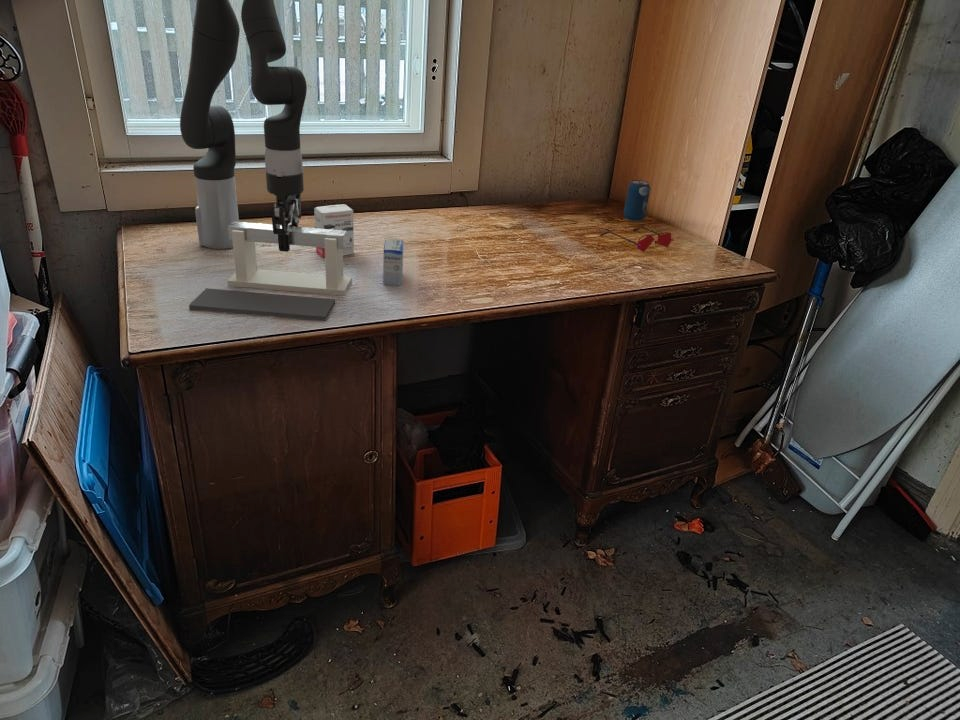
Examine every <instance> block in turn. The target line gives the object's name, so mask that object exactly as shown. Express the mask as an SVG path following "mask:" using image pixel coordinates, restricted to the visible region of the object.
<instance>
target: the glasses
mask: <svg viewBox="0 0 960 720" xmlns="http://www.w3.org/2000/svg"><path fill="white" fill-rule="evenodd" d="M639 229H643V230H646V231H648V232H650V233H653V234H645V235H642V236H641V237H640V238H638V241H637V242H636V241H633V240H630V239H628V238H626V237H624V236H621V235H619V234H617V233H614V232H613V231H605V232H603V233H601V234H599V236H600V237H602V236H604V235H606V234H612V235H614V236H617V237H619V238H621V239H623V240H625V241H628V242H630V243H633V244H634V245H637V246H636V247H637V248H636V249H638V250H640V251H641V252H645V251H646V250H647V249H648V247H650V246H652V243H653V242H654V243H655V245H660V246H663V247H664V248H665V247H666V248H668V247H669V246H670V244H671V242H674V238H672V232H668V231H667V232H666V231H665V232H660V233H659V232H655V231H653V230H651V229H648V228H646V227H644V226H639V227H636V228H634V229H632V231H633V232H635V231H637V230H639ZM656 235H657V239H656V240H655V238H654V237H653V236H656Z"/></svg>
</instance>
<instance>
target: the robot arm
mask: <svg viewBox="0 0 960 720" xmlns="http://www.w3.org/2000/svg"><path fill="white" fill-rule="evenodd" d="M195 3H196V4H195V10H194V18H193V24H192V25H193V26H192V34H191V47H190V48H191V49H190V60H189V69H188V77H187V81H186V87H185V92H184V97H183V101H182V106H181V112H180V116H179V117H180V119H179V127H180V128H179V129H180V134H181V137H182V140H183V142H184V143H185V145H186V146H187V147H188V148H191V149H193V150H205V149H208V150H207V152H206V153H205V154H204V156H203V157H201V158H200V159H199V160H197V161H196V162H195V163H194V164H193V176H194V183H195V190H196V191H195V192H196V200H197V206H195V208H194V211H195V219H196V221H195V222H196V227H197V236H198V244H199V246H203V247H206V248H209V249H215V250H225V249H233V241H232V240H229V232H228V226H229V225H230V224H231V223H232V222H234V221H236V222H240V218H239V210H238V209H239V208H238V198H237V188H236V177H235V167H236V163H237V159H236V158H237V157H236V156H237V155H236V154H237V153H236V135H235V133H236V132H235V125H234V121H233V119H232V118H233V117H232V116H231V114H230V111H228V109H226V107H224V106H222V105H219V104H218V105H215V104H214V105H211V103H212V100H213V96H214V94H215V93H216V90H217V89H218V88H219V86H220V85H221V83H222V82H223V80H224V79H225V78H226V77H227V75H228V74H229V73H230V70H231V69H232V68H233V66H234V64H235V62H236V59H237V53H238V46H239V41H240V40H239V39H240V33H241V32H240V25H239V20H238V18H237V15H236V14H235V11H234V8H233V6H232V3H230V0H196V1H195ZM241 4H242V5H241V10H240V11H241V12H240V13H241V15H240V17H241V24H242V28H243V31H244V35H245V38H246V41H247V44H248V48H249V54H250V55H249V57H250V66H251V68H250V70H251V72H250V74H251V76H250V77H251V78H250V89H251V92H252V95H253V97H254V98H255V99H256V101H258V102H259V103H260V104H261V105H264V106H276V105H278V106H279V105H283V106H284V107H283V109H282V111H281V112H280V113H278V114H275V115H272V116H269V117H267V118H266V119H264V122H263V133H264V135H263V136H264V146H265V149H264V151H265V152H264V164H265V168H264V169H265V178H266V189H267V192H268V193H269V194H272V195H274V196H275V197H276V198H275V202H274V205H273V206H271V207H270V215H271V222H272V223H271V224H272V225H273V233H274V234H278V250H279V251H280V252H286V253H288V252H289V251H290V250H291V249H290V248H291V245H290V243H289V226H295V227H299V224H300V219H302V205H301V204H302V201H301V200H302V199H301V196H302V194H303V192H304V190H305V188H304V185H305V184H304V173H303V172H304V169H303V155H302V151H301V150H302V149H301V134H300V132H301V131H300V129H301V121H302V117H303V116H302V115H303V110H304V106H305V102H306V97H307V92H308V91H307V90H308V89H307V88H308V86H307V81H306V77H305V75H304V73H303V72H302V70H301V69H299V68H298V67H296V66H269V64H268V63H272V62H275V61H278V60H280V59H282V58H283V57H284V56H285V55H286V52H287V46H286V41H285V38H284V34H283V31H282V28H281V23H280V21H279V17H278V14H277V10H276V6H275V1H274V0H243V2H242V3H241ZM280 225H282V229H280Z"/></svg>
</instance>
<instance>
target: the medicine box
mask: <svg viewBox="0 0 960 720" xmlns="http://www.w3.org/2000/svg"><path fill="white" fill-rule="evenodd" d="M382 255H383V256H382V257H383V258H382V260H383V262H382V264H383V265H382V266H383V267H382V270H383V271H382V272H383V273H382V284H383V285H384V286H387V285H388V286H402V285H403V284H402V283H403V265H404V240H403V239H396V238H385V239H384V245H383V254H382Z"/></svg>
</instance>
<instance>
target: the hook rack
mask: <svg viewBox="0 0 960 720" xmlns="http://www.w3.org/2000/svg"><path fill="white" fill-rule="evenodd" d="M248 223H251V222H250V221H249V222H248ZM332 230H333V229H332ZM324 240H325V258H324V261H325V263H324V265H325V274H316V273H306V272H305V273H303V272H296V271H295V272H293V271H282V270H270V269H258V264H257V250H256V242H252V241H245V234H244V231H241V230H232V241H233V248H232V249H233V250H232V251H233V258H234V270H235V271H234V273H233V274H232V275H231V276H230V277H229V279H228V280H227V286H228V287H238V288H239V287H240V288H251V289H262V290H271V291H272V290H276V291H286V292H287V291H288V292H297V293H308V294H309V293H310V294H321V295H322V294H323V295H334V296H345V295H346V294H347V292H348V290H349V289H350V286H351V284H352V283H353V277H352V276H344V255H343V249H337V239H335V238H325V239H324Z"/></svg>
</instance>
